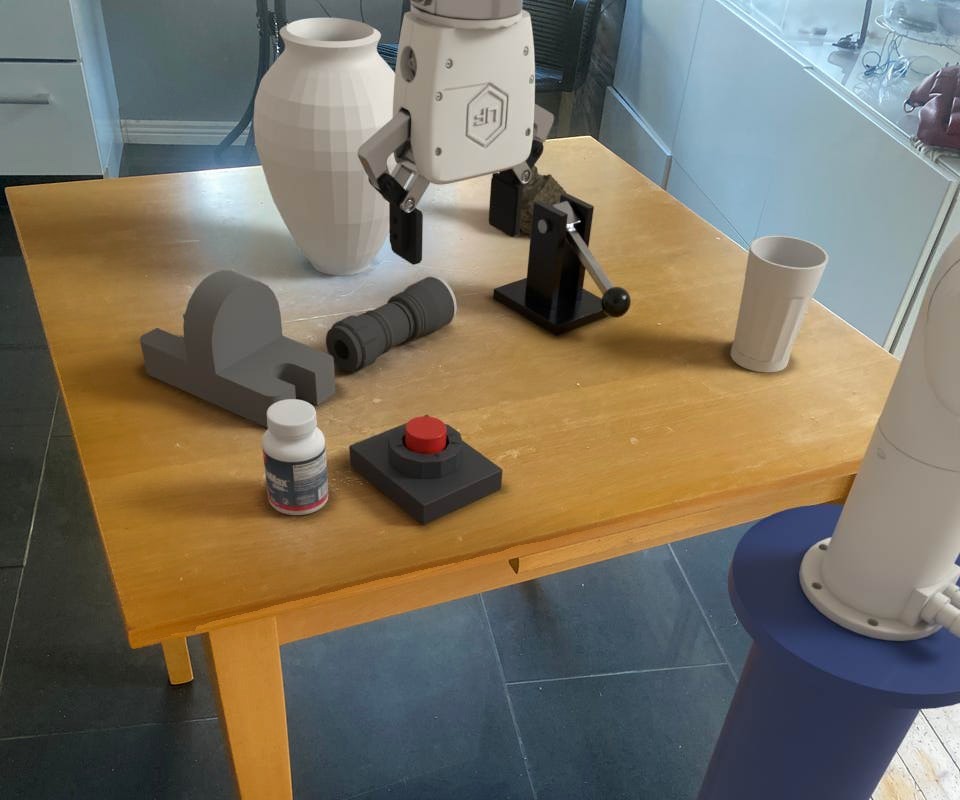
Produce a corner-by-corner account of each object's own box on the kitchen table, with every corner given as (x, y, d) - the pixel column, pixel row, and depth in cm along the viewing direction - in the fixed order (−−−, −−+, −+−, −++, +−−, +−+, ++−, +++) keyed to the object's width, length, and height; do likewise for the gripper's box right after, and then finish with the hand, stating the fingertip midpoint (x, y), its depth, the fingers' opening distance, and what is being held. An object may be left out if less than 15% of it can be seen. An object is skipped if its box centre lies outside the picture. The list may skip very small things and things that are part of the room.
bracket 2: (612, 314, 114) (628, 212, 106) (556, 336, 110) (569, 231, 102) (548, 279, 120) (559, 179, 112) (492, 298, 116) (499, 195, 107)
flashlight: (359, 383, 101) (357, 334, 97) (322, 364, 103) (319, 316, 99) (456, 331, 109) (457, 285, 106) (419, 315, 112) (420, 268, 108)
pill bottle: (258, 492, 87) (246, 404, 81) (310, 474, 89) (303, 387, 83) (285, 524, 84) (276, 435, 78) (339, 505, 86) (334, 417, 80)
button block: (501, 489, 89) (504, 452, 86) (423, 525, 85) (423, 488, 82) (426, 434, 95) (427, 397, 92) (349, 465, 90) (348, 428, 88)
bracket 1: (208, 335, 106) (193, 235, 98) (340, 390, 100) (335, 288, 92) (141, 371, 100) (119, 268, 92) (277, 432, 94) (266, 326, 86)
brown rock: (529, 151, 134) (471, 163, 129) (585, 123, 124) (524, 134, 119) (550, 238, 137) (494, 252, 132) (606, 216, 127) (548, 231, 123)
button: (454, 446, 87) (454, 429, 86) (422, 460, 85) (422, 443, 84) (429, 428, 89) (429, 411, 88) (397, 441, 87) (397, 424, 86)
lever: (626, 319, 109) (641, 301, 106) (606, 326, 108) (621, 308, 105) (559, 217, 110) (572, 197, 108) (538, 223, 109) (551, 203, 106)
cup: (741, 378, 106) (770, 270, 97) (711, 342, 111) (737, 237, 103) (807, 373, 107) (842, 266, 99) (775, 337, 113) (806, 233, 104)
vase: (442, 274, 119) (448, 41, 102) (314, 309, 111) (298, 62, 94) (363, 222, 129) (357, 1, 111) (241, 251, 121) (213, 17, 103)
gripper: (393, 17, 59) (393, 288, 71) (599, -10, 68) (568, 237, 80) (326, -11, 63) (337, 250, 75) (528, -34, 71) (509, 205, 84)
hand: (456, 243), depth 78 cm, fingers open, 9 cm apart
